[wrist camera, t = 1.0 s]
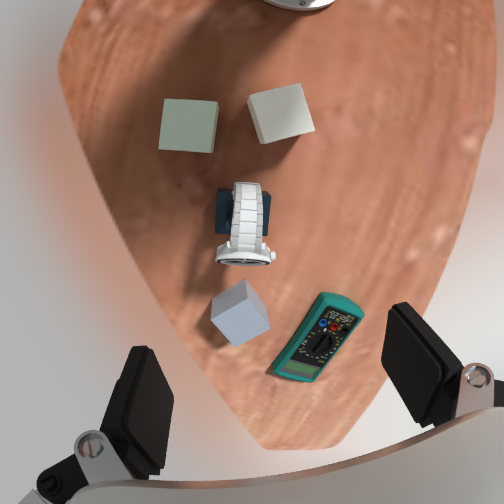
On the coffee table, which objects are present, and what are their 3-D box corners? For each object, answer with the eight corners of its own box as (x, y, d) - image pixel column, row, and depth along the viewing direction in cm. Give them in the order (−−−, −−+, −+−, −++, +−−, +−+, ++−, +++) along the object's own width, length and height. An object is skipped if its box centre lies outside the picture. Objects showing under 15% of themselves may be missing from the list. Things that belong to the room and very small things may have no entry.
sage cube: (174, 105, 28) (164, 98, 23) (219, 108, 29) (217, 101, 24) (169, 148, 30) (158, 149, 25) (213, 151, 30) (210, 153, 26)
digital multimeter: (362, 303, 39) (370, 313, 37) (308, 374, 44) (312, 387, 41) (322, 285, 38) (329, 296, 35) (269, 363, 42) (272, 376, 39)
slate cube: (212, 297, 37) (210, 319, 32) (245, 278, 36) (247, 298, 31) (234, 324, 38) (235, 347, 34) (265, 306, 38) (270, 328, 33)
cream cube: (246, 102, 29) (249, 94, 24) (289, 91, 28) (300, 83, 24) (260, 143, 30) (265, 143, 26) (302, 132, 30) (315, 130, 26)
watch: (215, 241, 34) (210, 284, 24) (219, 172, 31) (213, 186, 21) (263, 243, 34) (277, 287, 24) (269, 176, 32) (288, 191, 21)
